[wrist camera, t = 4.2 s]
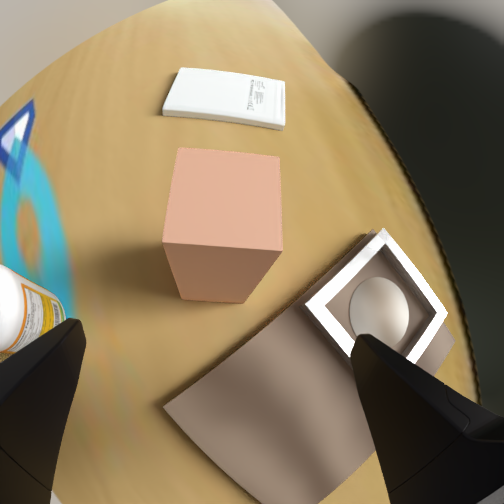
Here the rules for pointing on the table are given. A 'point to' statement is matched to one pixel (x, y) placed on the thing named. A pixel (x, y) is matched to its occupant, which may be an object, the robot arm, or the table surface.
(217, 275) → the terracotta pin
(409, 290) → the board
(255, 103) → the external hard drive
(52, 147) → the table surface
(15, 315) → the supplement bottle
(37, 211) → the table surface
